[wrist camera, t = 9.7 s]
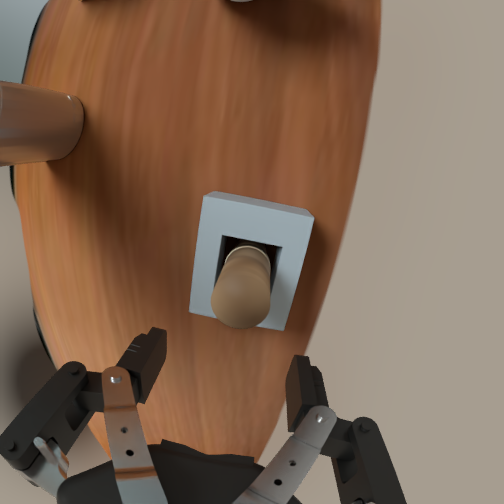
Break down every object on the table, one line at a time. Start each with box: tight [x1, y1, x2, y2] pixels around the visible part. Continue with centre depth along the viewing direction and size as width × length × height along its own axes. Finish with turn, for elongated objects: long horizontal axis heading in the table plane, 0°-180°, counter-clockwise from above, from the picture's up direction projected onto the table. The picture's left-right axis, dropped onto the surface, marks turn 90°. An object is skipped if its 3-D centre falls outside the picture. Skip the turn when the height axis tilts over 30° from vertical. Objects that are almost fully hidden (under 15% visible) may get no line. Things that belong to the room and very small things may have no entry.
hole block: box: [189, 191, 314, 331], centre depth 28 cm, size 12×10×5 cm
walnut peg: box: [211, 239, 270, 329], centre depth 24 cm, size 4×4×12 cm
